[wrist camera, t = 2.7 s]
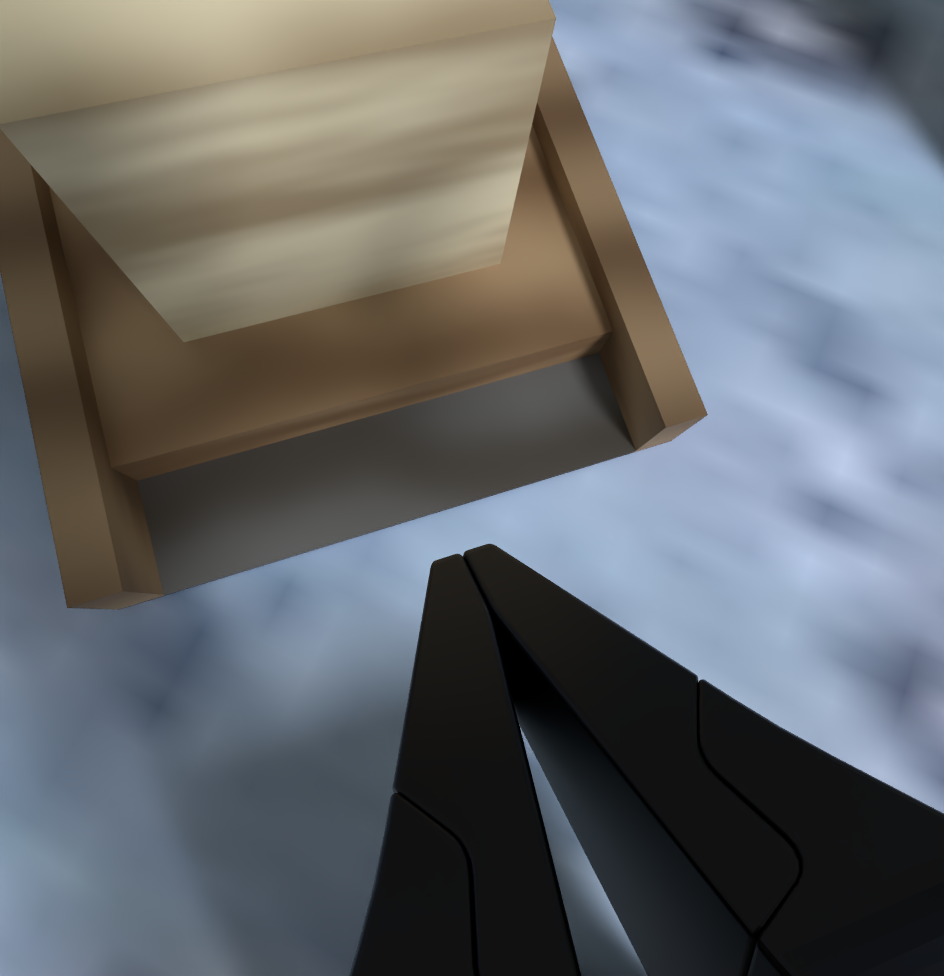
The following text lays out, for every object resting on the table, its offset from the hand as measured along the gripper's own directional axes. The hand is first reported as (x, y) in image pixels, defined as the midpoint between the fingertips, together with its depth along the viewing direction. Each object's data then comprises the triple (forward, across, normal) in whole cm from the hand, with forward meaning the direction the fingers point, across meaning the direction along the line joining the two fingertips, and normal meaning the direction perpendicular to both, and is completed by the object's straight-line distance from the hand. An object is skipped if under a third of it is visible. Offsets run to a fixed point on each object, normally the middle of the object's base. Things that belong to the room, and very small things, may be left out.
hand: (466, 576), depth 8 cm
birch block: (+19, 0, -4) cm, 19 cm away
